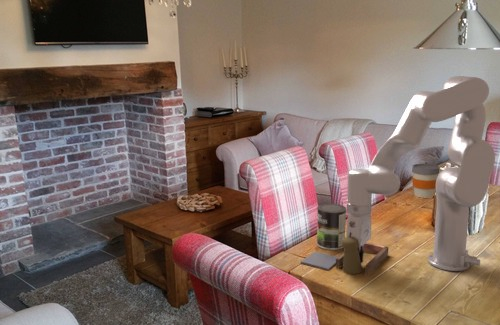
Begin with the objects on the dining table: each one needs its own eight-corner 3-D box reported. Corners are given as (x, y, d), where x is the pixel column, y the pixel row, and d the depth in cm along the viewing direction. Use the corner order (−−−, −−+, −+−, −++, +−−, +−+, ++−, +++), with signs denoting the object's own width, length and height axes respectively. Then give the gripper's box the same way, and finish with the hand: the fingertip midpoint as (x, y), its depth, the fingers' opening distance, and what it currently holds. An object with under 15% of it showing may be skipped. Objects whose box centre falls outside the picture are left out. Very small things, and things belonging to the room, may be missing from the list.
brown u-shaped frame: (388, 255, 156) (388, 247, 155) (368, 275, 141) (368, 266, 140) (357, 248, 162) (357, 240, 161) (335, 267, 147) (335, 258, 147)
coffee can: (325, 252, 159) (326, 213, 156) (311, 241, 169) (312, 205, 166) (351, 247, 163) (352, 209, 160) (335, 237, 172) (336, 202, 169)
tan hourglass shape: (359, 262, 147) (357, 232, 144) (364, 272, 142) (362, 242, 138) (341, 264, 148) (338, 235, 144) (345, 275, 142) (342, 244, 138)
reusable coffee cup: (418, 191, 232) (420, 162, 228) (442, 196, 222) (444, 166, 219) (405, 196, 224) (407, 166, 220) (429, 201, 214) (431, 170, 211)
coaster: (341, 259, 153) (341, 257, 153) (328, 270, 145) (328, 268, 145) (314, 252, 159) (314, 251, 159) (300, 263, 151) (300, 261, 151)
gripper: (360, 216, 136) (358, 273, 140) (379, 204, 148) (376, 257, 151) (337, 212, 140) (336, 267, 144) (357, 200, 152) (355, 251, 156)
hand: (357, 262), depth 148 cm, fingers closed
